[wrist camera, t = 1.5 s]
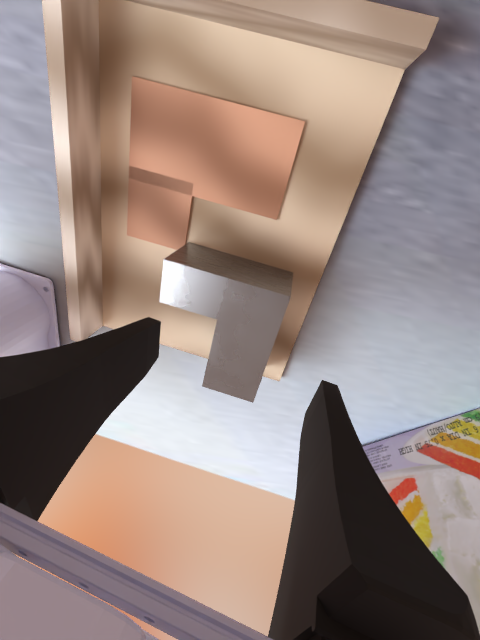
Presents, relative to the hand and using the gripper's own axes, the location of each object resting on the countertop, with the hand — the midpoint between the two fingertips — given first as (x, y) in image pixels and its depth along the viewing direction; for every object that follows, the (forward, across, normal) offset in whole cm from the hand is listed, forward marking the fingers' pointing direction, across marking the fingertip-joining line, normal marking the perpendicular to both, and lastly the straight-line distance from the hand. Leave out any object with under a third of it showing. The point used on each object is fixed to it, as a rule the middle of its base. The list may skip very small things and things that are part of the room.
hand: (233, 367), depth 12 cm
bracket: (+10, +3, +4) cm, 12 cm away
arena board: (+11, +6, -2) cm, 13 cm away
